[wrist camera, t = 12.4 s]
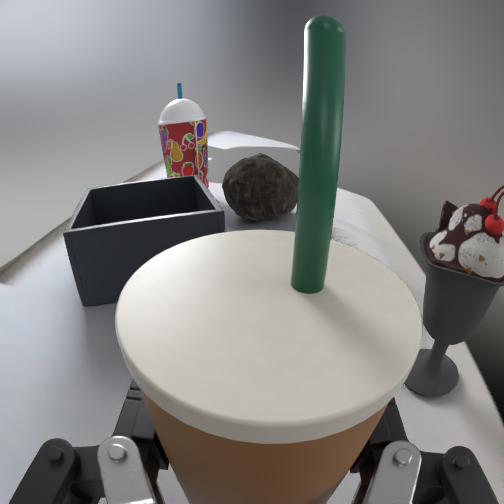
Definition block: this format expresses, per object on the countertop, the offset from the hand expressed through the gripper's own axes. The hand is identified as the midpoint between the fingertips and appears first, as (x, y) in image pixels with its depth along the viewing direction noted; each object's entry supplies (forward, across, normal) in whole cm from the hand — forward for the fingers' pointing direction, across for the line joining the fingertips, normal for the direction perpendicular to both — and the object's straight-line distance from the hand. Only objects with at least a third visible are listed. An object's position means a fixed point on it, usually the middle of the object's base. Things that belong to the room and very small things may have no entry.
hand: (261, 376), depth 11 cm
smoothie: (+46, +12, +8) cm, 48 cm away
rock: (+37, -1, +8) cm, 38 cm away
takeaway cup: (-2, 0, +6) cm, 6 cm away
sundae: (+6, -13, +8) cm, 17 cm away
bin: (+23, +12, +8) cm, 27 cm away
